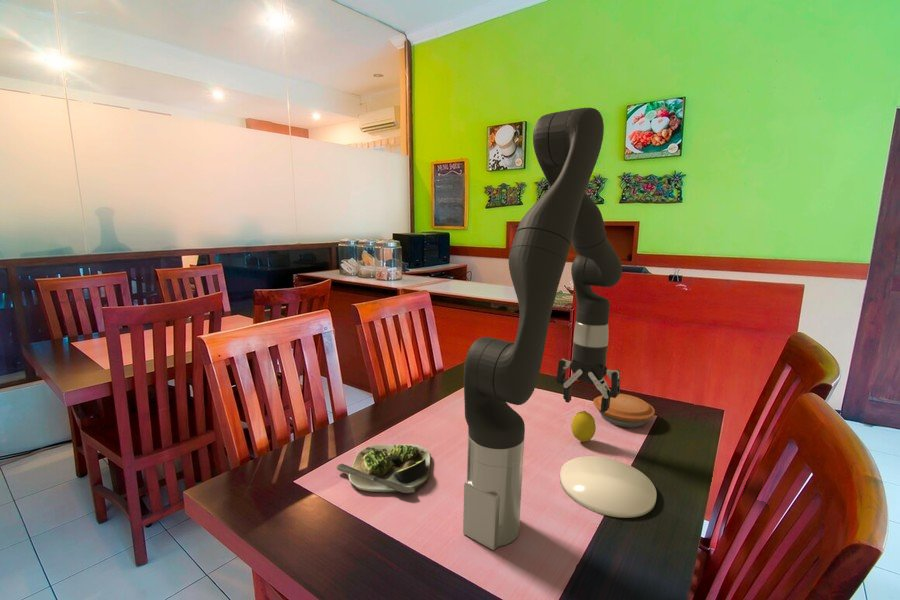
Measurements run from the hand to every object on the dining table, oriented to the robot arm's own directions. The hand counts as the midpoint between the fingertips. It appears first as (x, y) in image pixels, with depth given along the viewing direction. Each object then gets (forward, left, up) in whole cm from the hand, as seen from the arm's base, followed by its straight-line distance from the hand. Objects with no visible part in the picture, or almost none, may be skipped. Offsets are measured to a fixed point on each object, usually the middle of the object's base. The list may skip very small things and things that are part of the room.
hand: (585, 406), depth 99 cm
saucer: (-14, -10, -9) cm, 20 cm away
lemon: (0, 0, -9) cm, 9 cm away
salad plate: (-37, +27, -10) cm, 47 cm away
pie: (+20, -4, -10) cm, 22 cm away
